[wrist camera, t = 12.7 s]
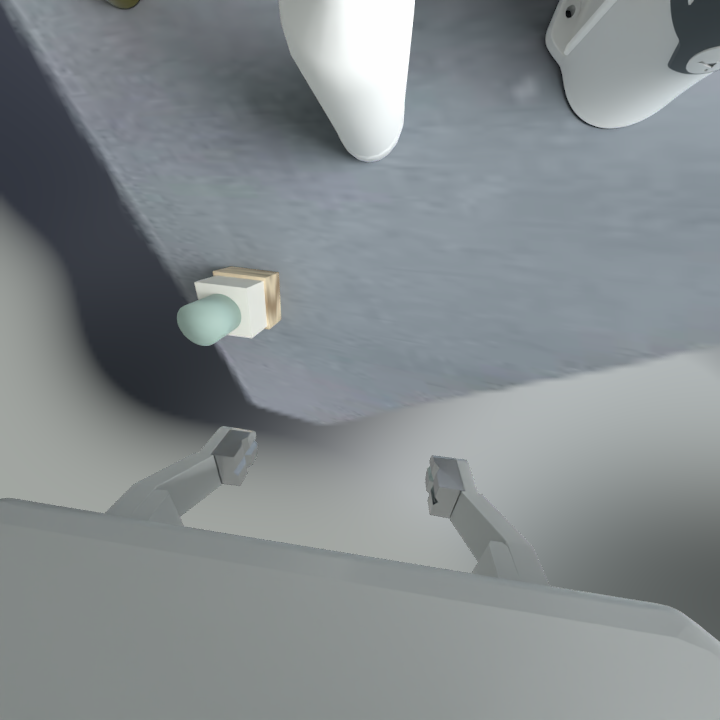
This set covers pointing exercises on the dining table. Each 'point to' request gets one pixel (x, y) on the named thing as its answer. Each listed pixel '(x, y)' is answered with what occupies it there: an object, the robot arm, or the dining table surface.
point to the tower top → (239, 300)
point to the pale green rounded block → (209, 319)
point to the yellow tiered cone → (123, 3)
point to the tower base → (269, 288)
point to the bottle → (354, 65)
